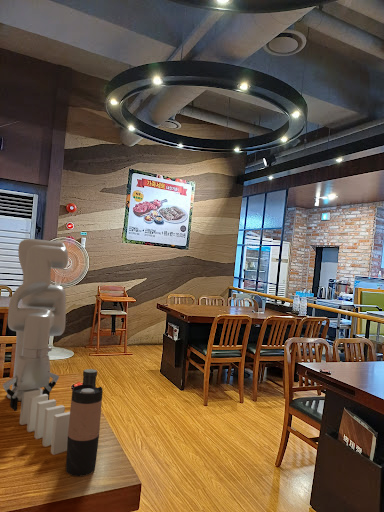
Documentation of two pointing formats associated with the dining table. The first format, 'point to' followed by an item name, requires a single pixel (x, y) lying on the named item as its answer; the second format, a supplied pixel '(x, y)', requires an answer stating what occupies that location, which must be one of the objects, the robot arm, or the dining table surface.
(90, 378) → the sauce bottle
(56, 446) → the domino
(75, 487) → the dining table surface
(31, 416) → the domino
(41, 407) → the domino
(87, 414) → the travel mug
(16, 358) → the robot arm
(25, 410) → the domino
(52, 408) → the domino
